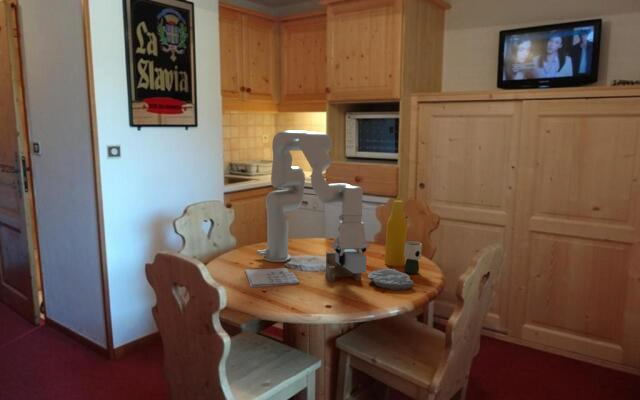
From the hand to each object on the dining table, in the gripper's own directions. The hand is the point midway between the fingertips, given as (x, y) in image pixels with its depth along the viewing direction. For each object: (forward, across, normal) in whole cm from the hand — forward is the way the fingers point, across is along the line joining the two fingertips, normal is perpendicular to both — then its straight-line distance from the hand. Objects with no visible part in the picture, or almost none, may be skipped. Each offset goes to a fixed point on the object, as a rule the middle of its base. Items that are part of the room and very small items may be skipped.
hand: (350, 264), depth 182 cm
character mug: (+9, +31, +14) cm, 35 cm away
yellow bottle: (+9, +28, +27) cm, 40 cm away
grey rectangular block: (+1, 0, 0) cm, 1 cm away
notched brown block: (+9, 0, +10) cm, 14 cm away
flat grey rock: (+10, +17, +2) cm, 20 cm away
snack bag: (+10, -29, +14) cm, 34 cm away
